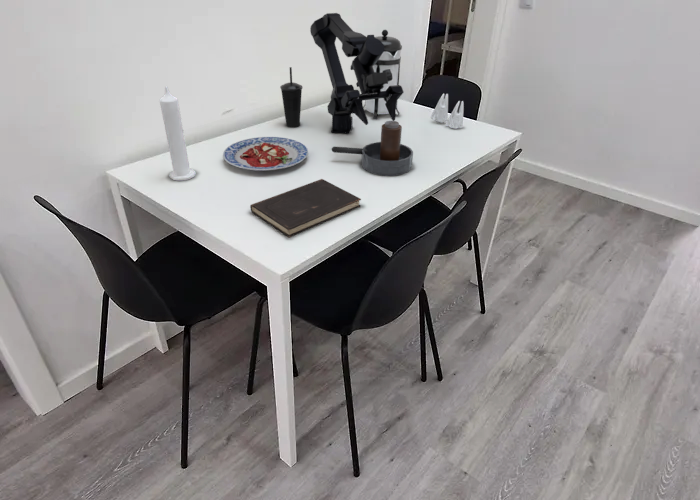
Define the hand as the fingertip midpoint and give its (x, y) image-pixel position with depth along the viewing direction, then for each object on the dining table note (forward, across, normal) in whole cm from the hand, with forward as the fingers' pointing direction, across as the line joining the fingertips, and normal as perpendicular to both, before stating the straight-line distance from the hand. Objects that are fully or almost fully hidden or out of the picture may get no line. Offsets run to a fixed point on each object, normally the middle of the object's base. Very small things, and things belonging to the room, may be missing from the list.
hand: (380, 122), depth 145 cm
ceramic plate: (-1, -32, +18) cm, 37 cm away
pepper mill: (+12, 0, +3) cm, 13 cm away
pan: (+12, 0, +5) cm, 13 cm away
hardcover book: (+23, -32, -6) cm, 40 cm away
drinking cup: (-19, -14, +36) cm, 43 cm away
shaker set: (-4, +38, +21) cm, 44 cm away
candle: (0, -57, +17) cm, 60 cm away
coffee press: (-19, +21, +37) cm, 47 cm away
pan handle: (+5, -10, +7) cm, 13 cm away
